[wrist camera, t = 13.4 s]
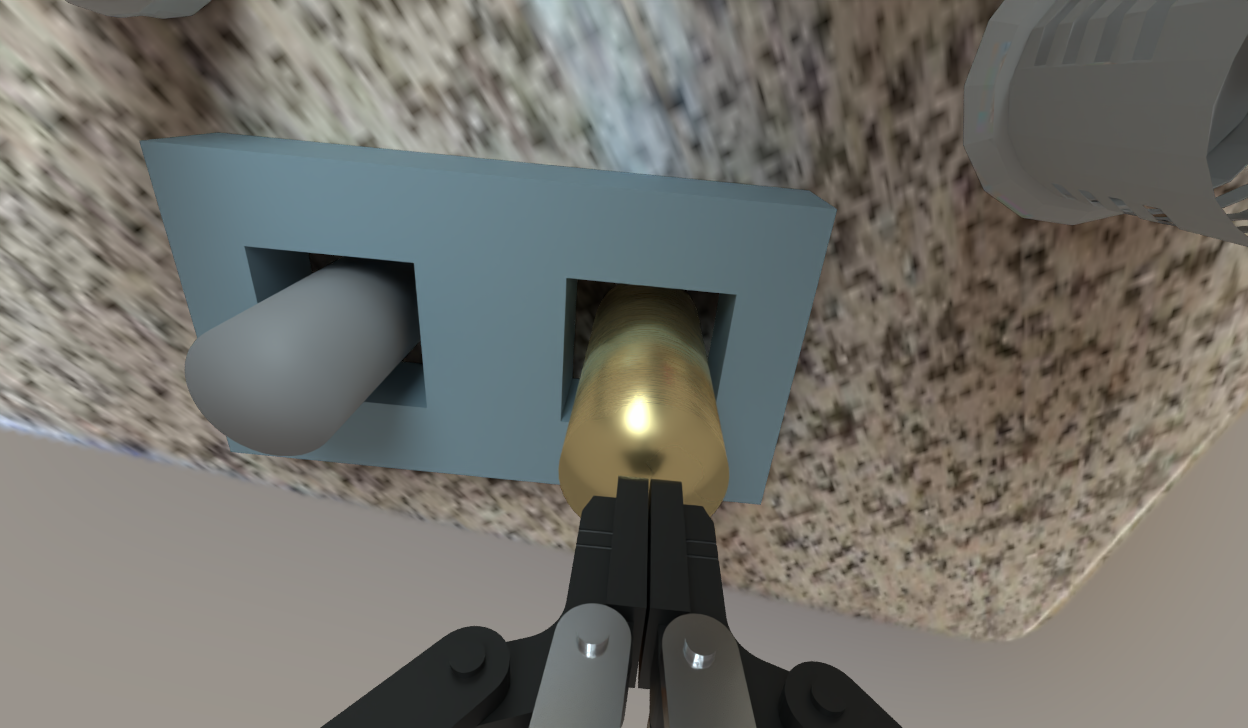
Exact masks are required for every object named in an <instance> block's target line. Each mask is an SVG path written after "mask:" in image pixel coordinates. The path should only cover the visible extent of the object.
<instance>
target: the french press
mask: <svg viewBox="0 0 1248 728" xmlns="http://www.w3.org/2000/svg"><path fill="white" fill-rule="evenodd" d="M963 145H964V148H965V150H966V152H967V154H968V156H969V158H970V161H971V163H972V165H973V167H974V169H975V172H976V174H977V176H978V178H979V180H980V182H981V185H982V187H983V189H984V191H986V192H987V193H989V194H990V195H991V196H993V197H994V198H995V199H997V200H998V201H1000V202H1001V203H1002V204H1004V205H1005V206H1007V207H1008V208H1009V209H1011V210H1012V211H1013V212H1015V213H1016V214H1018V215H1019V216H1020V217H1022V218H1028V219H1034V220H1041V221H1047V222H1054V223H1060V224H1067V225H1076V224H1080V223H1085V222H1089V221H1094V220H1098V219H1103V218H1107V217H1112V216H1116V215H1121V214H1129V215H1135V216H1138V217H1139V218H1140V219H1144V220H1149V221H1153V222H1157V223H1162V224H1167V225H1173V226H1177V227H1178V228H1179V229H1181V230H1185V231H1189V232H1192V233H1196V234H1200V235H1204V236H1208V237H1212V238H1216V239H1220V240H1224V241H1227V242H1231V243H1235V244H1239V245H1243V246H1247V247H1248V236H1246V235H1245V234H1244V233H1248V226H1240V227H1236V226H1235V225H1234V224H1233V223H1232V221H1235V220H1248V209H1247V210H1245V211H1242V212H1240V213H1235V214H1226V213H1225V212H1224V210H1223V209H1222V208H1224V207H1227V206H1229V205H1232V204H1234V203H1237V202H1239V201H1242V200H1244V199H1246V198H1248V184H1246V185H1244V186H1242V187H1239V188H1237V189H1235V190H1232V191H1230V192H1228V193H1225V194H1223V195H1221V196H1218V197H1216V198H1215V195H1214V190H1213V189H1214V188H1217V187H1219V186H1221V185H1224V184H1226V183H1228V182H1231V181H1232V180H1233V179H1234V178H1235V177H1236V176H1237V175H1238V174H1239V173H1240V172H1241V171H1242V170H1243V169H1244V168H1245V167H1246V166H1247V165H1248V0H1004V2H1003V3H1002V4H1001V5H1000V7H999V8H998V9H997V11H996V12H995V13H994V15H993V16H992V17H991V18H990V20H989V22H988V25H987V27H986V30H985V33H984V35H983V38H982V40H981V43H980V46H979V48H978V51H977V54H976V56H975V59H974V62H973V64H972V67H971V70H970V72H969V75H968V77H967V80H966V83H965V85H964V137H963ZM1143 205H1146V206H1150V207H1154V208H1158V209H1146V208H1145V207H1144V206H1143ZM1129 212H1131V213H1129ZM1134 213H1135V214H1134ZM1152 214H1166V215H1167V217H1154V216H1153V215H1152ZM1158 220H1161V221H1158ZM1163 221H1167V222H1163ZM1168 222H1172V223H1168ZM1173 223H1174V224H1173Z"/></svg>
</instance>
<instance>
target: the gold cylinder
mask: <svg viewBox="0 0 1248 728" xmlns="http://www.w3.org/2000/svg"><path fill="white" fill-rule="evenodd" d="M558 472H559V482H560V487H561V489H562V492H563V495H564V497H565V499H566V500H567V502H568V504H569V505H570V507H571V508H572V509H573V511H574V512H575V513H576V514H577V515H578V516H579V517H580V518H581V514H582V510H583V509H584V507H585V506H586V505H587V503H588V502H589V501H590V500H591V498H592V497H593V496H604V497H614V498H616V494H617V484H618V476H628V477H639V478H648V479H649V486H650V480H651V479H660V480H671V481H681V482H682V490H683V504H687V505H697V506H703V507H704V509H705V510H706V512H707V514H708V515H709V517H711V516H712V515H713V513H714V512H715V511H716V510H717V509H718V507H719V506H720V504H721V503H722V501H723V499H724V497H725V495H726V491H727V488H728V483H729V466H728V460H727V455H726V450H725V445H724V440H723V435H722V430H721V425H720V420H719V415H718V410H717V405H716V400H715V395H714V390H713V385H712V380H711V375H710V370H709V365H708V361H707V356H706V351H705V346H704V341H703V336H702V331H701V326H700V321H699V316H698V311H697V309H696V306H695V304H694V302H693V300H692V299H691V297H690V296H689V295H688V294H687V293H686V292H685V291H684V290H683V289H674V288H664V287H654V286H644V285H633V284H623V283H619V284H618V285H616V286H615V287H613V288H612V289H611V290H610V291H609V292H608V293H607V294H606V295H605V296H604V298H603V299H602V301H601V302H600V305H599V307H598V309H597V313H596V316H595V320H594V324H593V328H592V332H591V336H590V340H589V344H588V348H587V352H586V356H585V360H584V364H583V368H582V372H581V376H580V380H579V384H578V388H577V392H576V396H575V400H574V404H573V408H572V412H571V416H570V420H569V424H568V428H567V432H566V436H565V440H564V444H563V448H562V452H561V456H560V460H559V468H558ZM648 493H649V491H648Z"/></svg>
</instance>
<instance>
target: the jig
mask: <svg viewBox="0 0 1248 728" xmlns="http://www.w3.org/2000/svg"><path fill="white" fill-rule="evenodd" d="M140 145H141V148H142V151H143V155H144V158H145V162H146V165H147V168H148V172H149V175H150V179H151V182H152V185H153V189H154V192H155V196H156V199H157V202H158V206H159V209H160V213H161V216H162V219H163V223H164V226H165V230H166V233H167V236H168V240H169V243H170V247H171V250H172V253H173V257H174V260H175V264H176V267H177V270H178V274H179V277H180V281H181V284H182V287H183V291H184V294H185V298H186V301H187V304H188V308H189V311H190V315H191V318H192V321H193V325H194V328H195V332H196V335H197V338H198V339H196V340H195V342H194V343H193V344H192V346H191V347H190V349H189V351H188V354H187V357H186V361H185V378H186V382H187V386H188V389H189V392H190V394H191V396H192V398H193V400H194V402H195V404H196V405H197V407H198V408H199V410H200V411H201V413H202V414H203V415H204V416H205V417H206V419H207V420H208V421H209V422H210V423H211V424H212V425H213V426H214V427H215V428H217V429H218V430H219V431H220V432H222V433H223V434H224V435H226V437H227V440H228V444H229V447H230V451H231V452H237V453H247V454H257V455H267V456H277V457H287V458H298V459H308V460H318V461H328V462H338V463H348V464H358V465H368V466H378V467H388V468H398V469H408V470H418V471H428V472H438V473H448V474H458V475H468V476H478V477H488V478H498V479H508V480H518V481H529V482H539V483H549V484H559V485H560V482H559V472H558V468H559V460H560V456H561V452H562V448H563V444H564V440H565V436H566V432H567V428H568V424H569V420H570V416H571V412H572V408H573V404H574V400H575V396H576V392H577V388H578V384H579V380H580V379H572V376H573V357H574V337H575V317H576V297H577V279H583V280H593V281H603V282H613V283H623V284H633V285H644V286H654V287H664V288H674V289H684V290H694V291H704V292H714V293H720V294H719V299H718V305H717V311H716V316H715V322H714V328H713V334H712V339H711V345H710V351H709V356H708V365H709V370H710V375H711V380H712V385H713V390H714V395H715V400H716V405H717V410H718V415H719V420H720V425H721V430H722V435H723V440H724V445H725V450H726V455H727V460H728V466H729V483H728V488H727V491H726V495H725V497H724V499H723V501H729V502H739V503H749V504H760V505H761V501H762V497H763V493H764V489H765V485H766V482H767V478H768V474H769V470H770V466H771V462H772V458H773V455H774V451H775V447H776V443H777V439H778V435H779V432H780V428H781V424H782V420H783V416H784V412H785V408H786V405H787V401H788V397H789V393H790V389H791V385H792V381H793V378H794V374H795V370H796V366H797V362H798V358H799V355H800V351H801V347H802V343H803V339H804V335H805V331H806V328H807V324H808V320H809V316H810V312H811V308H812V304H813V301H814V297H815V293H816V289H817V285H818V281H819V278H820V274H821V270H822V266H823V262H824V258H825V254H826V251H827V247H828V243H829V239H830V235H831V231H832V228H833V224H834V220H835V216H836V212H837V209H836V208H834V207H833V206H831V205H830V204H828V203H827V202H825V201H824V200H822V199H821V198H819V197H818V196H816V195H815V194H813V193H812V192H810V191H808V190H798V189H788V188H778V187H768V186H758V185H747V184H737V183H727V182H717V181H707V180H697V179H686V178H676V177H666V176H656V175H646V174H635V173H625V172H615V171H605V170H595V169H585V168H574V167H564V166H554V165H544V164H534V163H523V162H513V161H503V160H493V159H483V158H473V157H462V156H452V155H442V154H432V153H422V152H412V151H401V150H391V149H381V148H371V147H361V146H350V145H340V144H330V143H320V142H310V141H300V140H289V139H279V138H269V137H259V136H249V135H238V134H228V133H209V134H199V135H190V136H180V137H170V138H161V139H151V140H141V141H140ZM308 252H309V253H319V254H329V255H340V256H344V257H342V258H340V259H338V260H336V261H335V262H333V263H331V264H329V265H327V266H326V267H324V268H322V269H320V270H318V271H316V272H315V273H313V274H312V271H311V265H310V260H309V254H308ZM413 263H414V264H413ZM420 340H421V346H422V358H423V364H421V363H411V362H401V361H402V360H403V359H404V357H405V356H406V355H407V354H408V353H409V352H410V351H411V350H412V349H413V348H414V347H415V345H416V344H417V343H418V342H419V341H420Z"/></svg>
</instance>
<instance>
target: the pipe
mask: <svg viewBox="0 0 1248 728" xmlns="http://www.w3.org/2000/svg"><path fill="white" fill-rule="evenodd" d="M65 1H67V2H68V3H70V4H73V5H76V6H79V7H82V8H85V9H88V10H91V11H94V12H97V13H100V14H102V15H105V16H112V17H119V18H124V17H133V16H148V17H155V18H162V19H166V18H175V17H184V16H192V15H193V14H195V13H196V12H197V11H199V10H200V9H201V8H203V7H204V6H205V5H206V4H208V3H209V2H210V1H211V0H65Z"/></svg>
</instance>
